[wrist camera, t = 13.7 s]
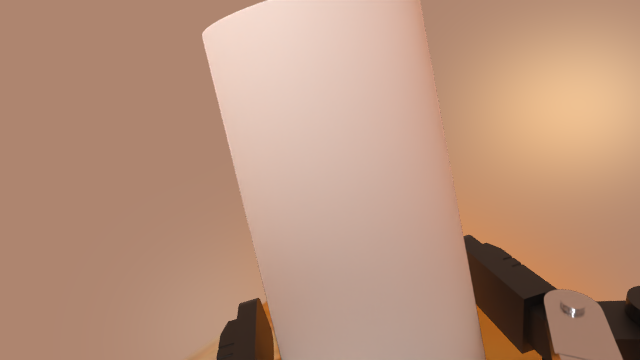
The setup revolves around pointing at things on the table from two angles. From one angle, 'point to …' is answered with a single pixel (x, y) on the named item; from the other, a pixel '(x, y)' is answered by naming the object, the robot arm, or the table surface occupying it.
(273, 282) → the champagne flute
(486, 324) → the table surface
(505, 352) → the table surface
